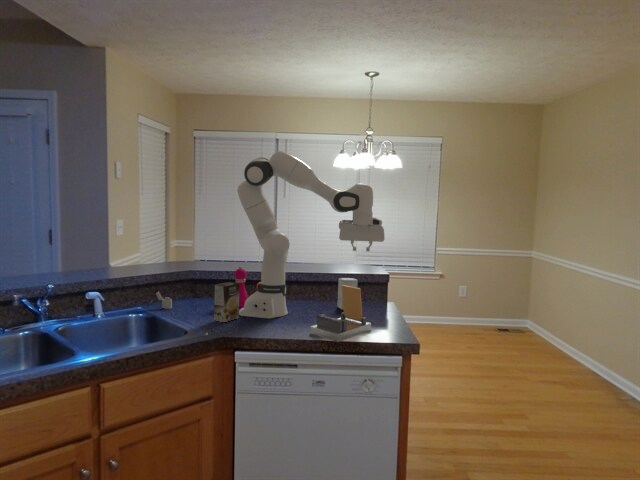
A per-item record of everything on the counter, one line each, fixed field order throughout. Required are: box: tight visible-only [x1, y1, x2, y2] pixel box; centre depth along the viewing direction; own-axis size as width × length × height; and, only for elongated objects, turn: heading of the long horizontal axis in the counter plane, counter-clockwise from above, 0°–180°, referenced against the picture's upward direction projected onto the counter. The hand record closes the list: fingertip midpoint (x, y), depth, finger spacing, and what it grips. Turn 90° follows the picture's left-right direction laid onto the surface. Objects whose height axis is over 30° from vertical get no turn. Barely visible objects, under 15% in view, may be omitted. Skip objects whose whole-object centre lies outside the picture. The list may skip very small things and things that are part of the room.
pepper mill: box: [234, 265, 249, 308], centre depth 216 cm, size 7×7×20 cm
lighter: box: [155, 291, 173, 310], centre depth 207 cm, size 7×2×8 cm, turn 95°
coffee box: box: [213, 281, 240, 323], centre depth 191 cm, size 9×6×16 cm
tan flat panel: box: [342, 285, 363, 322], centre depth 183 cm, size 15×9×1 cm
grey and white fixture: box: [309, 311, 372, 343], centre depth 179 cm, size 22×14×7 cm, turn 138°
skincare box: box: [336, 277, 358, 311], centre depth 218 cm, size 8×6×15 cm
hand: (361, 251), depth 197 cm, fingers open, 5 cm apart
